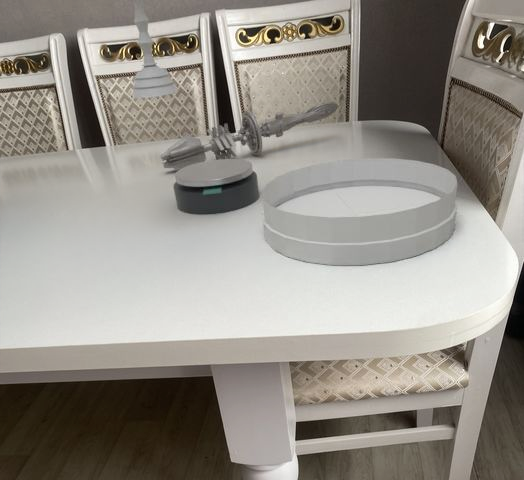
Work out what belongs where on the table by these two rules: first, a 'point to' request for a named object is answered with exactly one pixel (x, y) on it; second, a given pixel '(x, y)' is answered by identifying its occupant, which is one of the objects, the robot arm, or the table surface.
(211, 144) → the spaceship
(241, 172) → the scale pan
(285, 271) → the table surface
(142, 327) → the table surface
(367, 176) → the gray round ring
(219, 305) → the table surface
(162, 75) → the chalice
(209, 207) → the scale
